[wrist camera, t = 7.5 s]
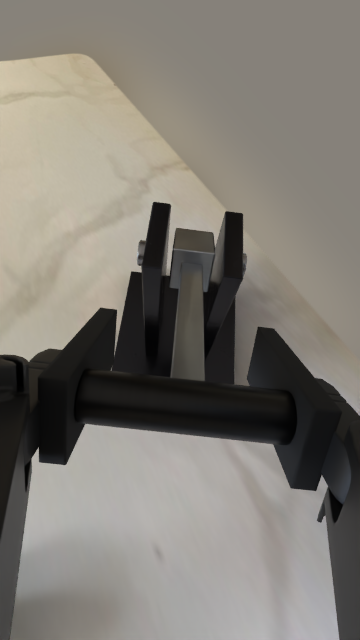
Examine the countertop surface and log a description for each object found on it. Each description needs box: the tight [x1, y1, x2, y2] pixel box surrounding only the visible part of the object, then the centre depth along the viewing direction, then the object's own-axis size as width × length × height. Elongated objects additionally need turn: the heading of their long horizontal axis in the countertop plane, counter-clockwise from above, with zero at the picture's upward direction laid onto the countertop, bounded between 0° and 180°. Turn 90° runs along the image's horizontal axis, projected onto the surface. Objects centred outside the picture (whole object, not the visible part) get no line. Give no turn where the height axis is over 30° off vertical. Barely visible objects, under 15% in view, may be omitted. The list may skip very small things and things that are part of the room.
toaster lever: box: [74, 228, 297, 445], centre depth 14 cm, size 12×6×2 cm, turn 177°
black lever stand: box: [112, 202, 247, 384], centre depth 22 cm, size 12×10×14 cm
